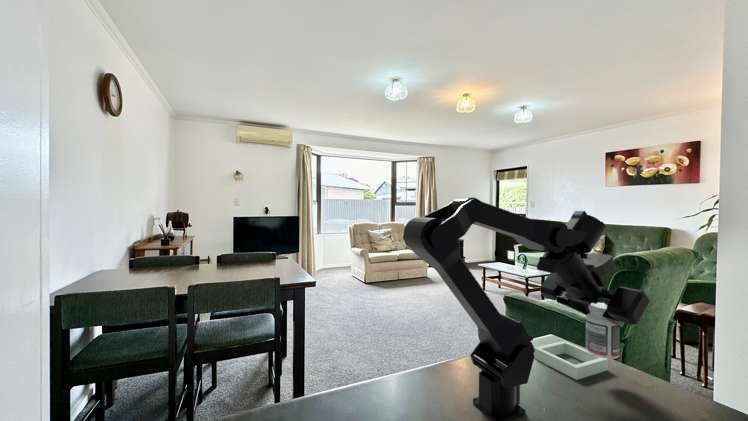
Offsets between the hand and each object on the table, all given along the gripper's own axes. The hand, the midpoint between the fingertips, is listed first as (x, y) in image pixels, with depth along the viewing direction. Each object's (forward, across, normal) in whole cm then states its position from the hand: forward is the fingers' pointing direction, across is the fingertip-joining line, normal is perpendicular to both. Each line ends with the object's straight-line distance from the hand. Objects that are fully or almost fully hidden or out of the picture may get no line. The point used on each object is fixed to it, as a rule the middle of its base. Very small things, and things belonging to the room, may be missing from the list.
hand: (606, 320), depth 66 cm
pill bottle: (+4, 0, +6) cm, 7 cm away
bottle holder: (+8, +7, +10) cm, 14 cm away
